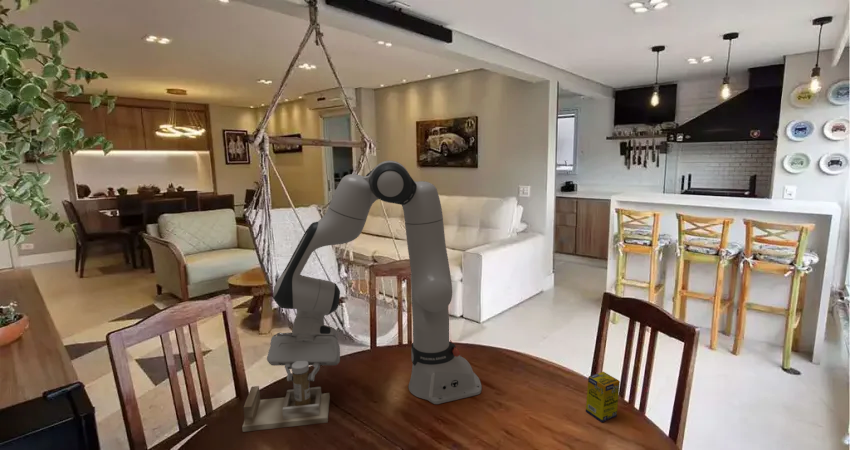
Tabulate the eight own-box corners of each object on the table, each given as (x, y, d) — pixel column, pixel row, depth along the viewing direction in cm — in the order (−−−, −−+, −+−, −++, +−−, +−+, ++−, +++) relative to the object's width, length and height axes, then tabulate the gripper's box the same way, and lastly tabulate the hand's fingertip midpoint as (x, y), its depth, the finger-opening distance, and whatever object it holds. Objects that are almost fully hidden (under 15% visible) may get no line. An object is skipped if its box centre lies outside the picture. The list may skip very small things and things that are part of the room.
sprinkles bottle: (313, 408, 123) (310, 364, 121) (297, 414, 121) (294, 369, 118) (308, 400, 127) (305, 358, 124) (292, 406, 124) (289, 362, 122)
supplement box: (602, 423, 118) (605, 386, 116) (585, 411, 123) (587, 375, 121) (617, 416, 121) (620, 380, 119) (600, 405, 126) (602, 370, 124)
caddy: (329, 397, 131) (328, 377, 130) (327, 422, 120) (326, 400, 118) (252, 405, 128) (250, 384, 126) (242, 431, 116) (240, 409, 115)
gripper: (269, 328, 127) (259, 377, 119) (339, 328, 127) (334, 377, 119) (275, 336, 132) (266, 383, 124) (343, 336, 132) (338, 383, 124)
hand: (300, 380), depth 122 cm, fingers open, 4 cm apart
